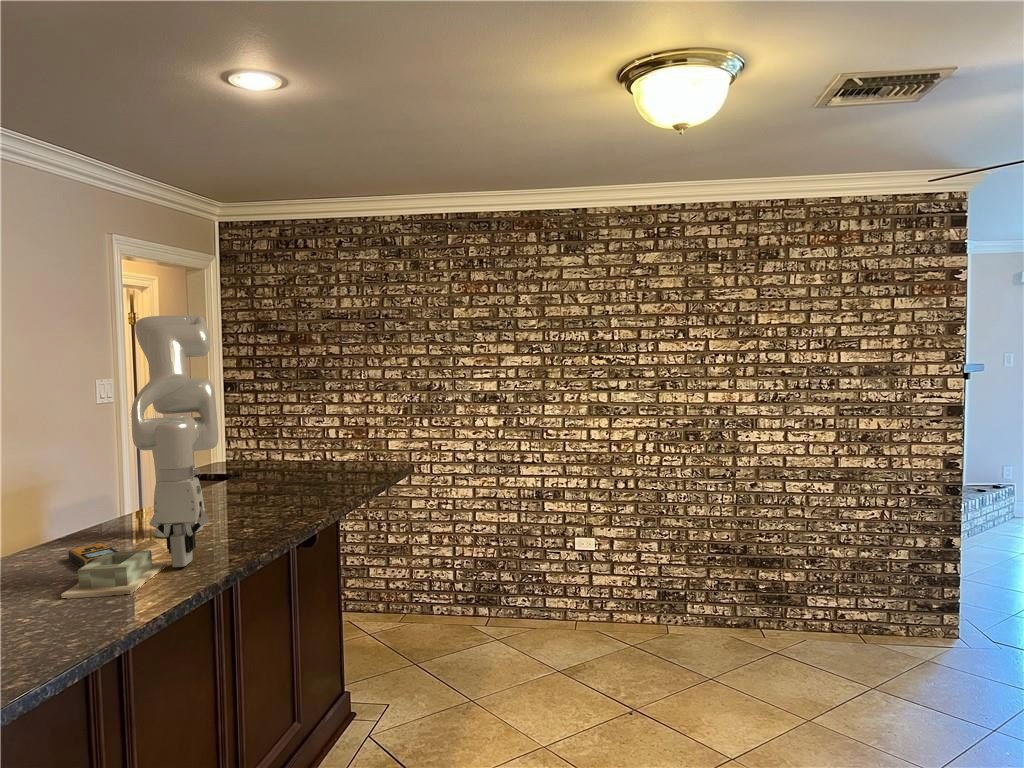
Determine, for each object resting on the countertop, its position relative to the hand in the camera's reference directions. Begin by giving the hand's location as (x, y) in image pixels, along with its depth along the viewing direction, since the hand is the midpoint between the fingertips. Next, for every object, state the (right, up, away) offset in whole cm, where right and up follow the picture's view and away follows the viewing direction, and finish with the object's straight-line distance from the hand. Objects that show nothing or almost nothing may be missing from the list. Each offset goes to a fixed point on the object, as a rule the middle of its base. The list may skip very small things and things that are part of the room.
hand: (181, 550), depth 166 cm
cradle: (-10, -5, -9) cm, 14 cm away
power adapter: (0, -3, 0) cm, 3 cm away
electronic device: (-24, -5, +7) cm, 26 cm away
